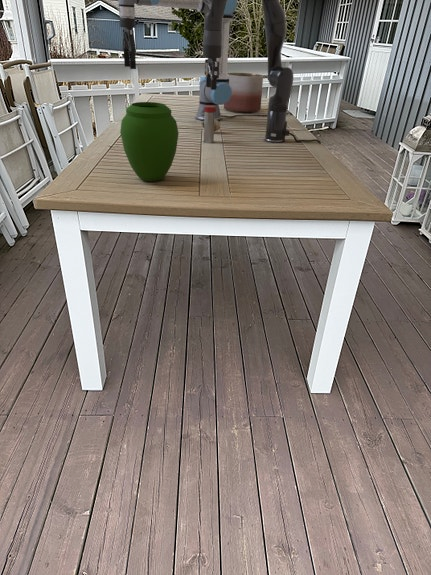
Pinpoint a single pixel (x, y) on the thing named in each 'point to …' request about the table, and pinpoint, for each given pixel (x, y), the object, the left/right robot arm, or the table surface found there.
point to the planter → (245, 92)
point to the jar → (209, 127)
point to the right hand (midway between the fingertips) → (211, 88)
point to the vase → (149, 139)
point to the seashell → (215, 125)
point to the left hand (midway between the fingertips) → (130, 67)
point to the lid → (209, 108)
